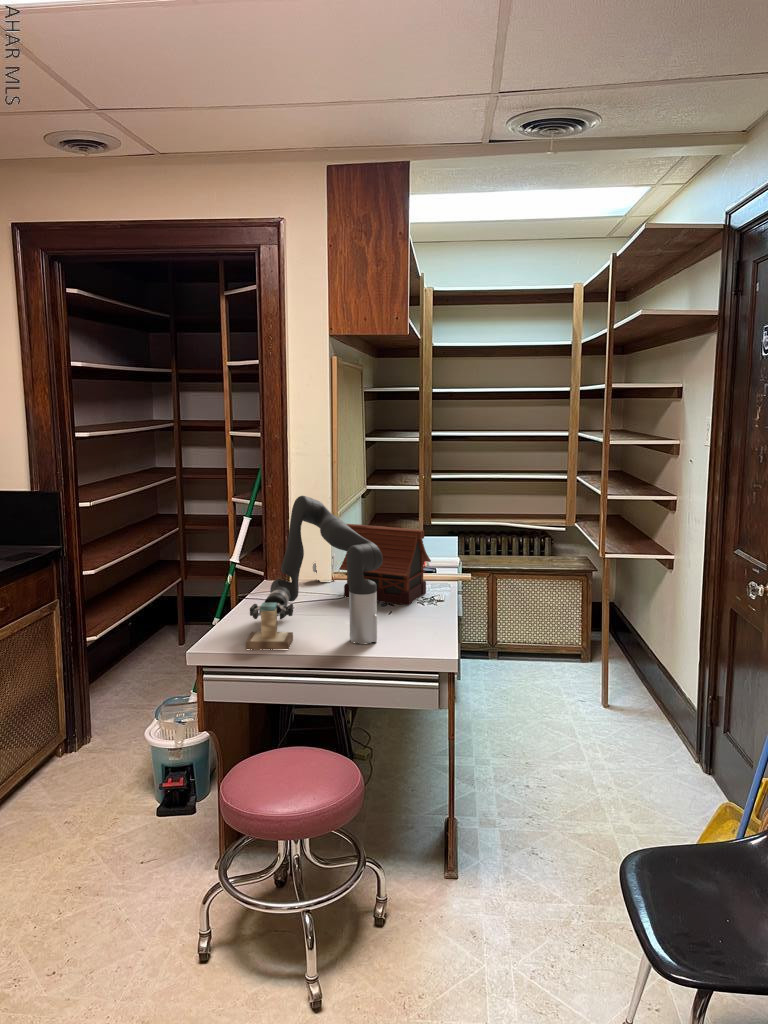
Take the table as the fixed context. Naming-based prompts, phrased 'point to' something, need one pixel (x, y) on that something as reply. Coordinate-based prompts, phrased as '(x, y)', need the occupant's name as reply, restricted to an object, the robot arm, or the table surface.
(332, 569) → the cup
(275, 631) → the teal topped tan block
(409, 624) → the table surface
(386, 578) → the house
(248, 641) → the dock
